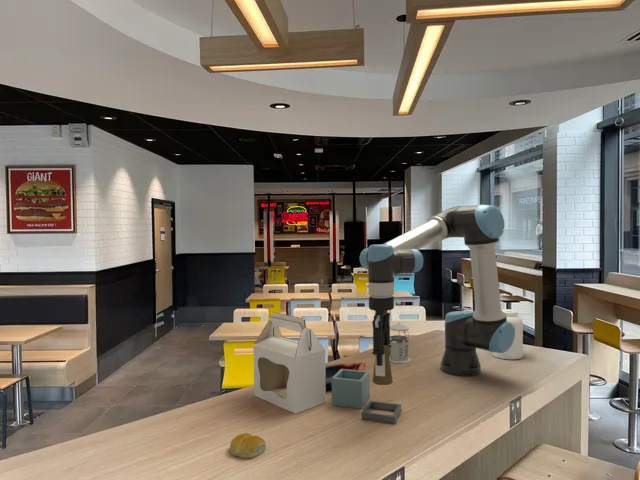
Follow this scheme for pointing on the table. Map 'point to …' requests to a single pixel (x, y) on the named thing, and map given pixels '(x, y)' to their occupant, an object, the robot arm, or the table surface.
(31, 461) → the table surface
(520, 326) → the white jar
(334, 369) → the dish
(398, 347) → the french press
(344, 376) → the open box
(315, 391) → the gable box
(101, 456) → the table surface
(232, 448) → the bread roll
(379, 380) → the olive brown hourglass shape
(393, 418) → the socket collar
